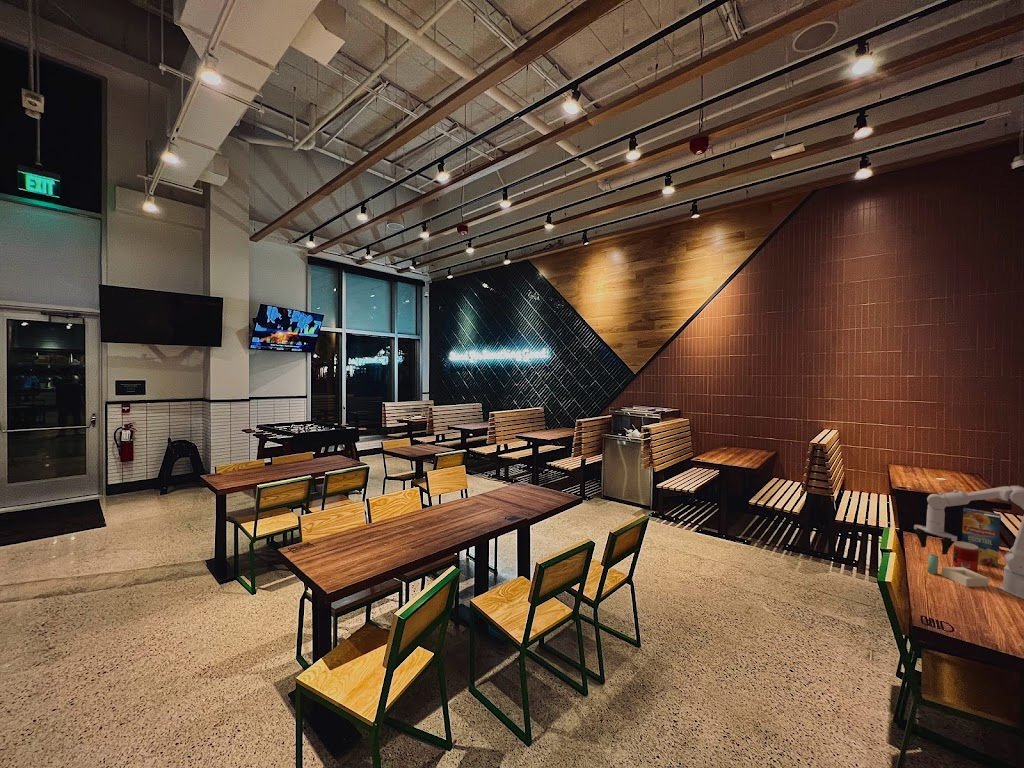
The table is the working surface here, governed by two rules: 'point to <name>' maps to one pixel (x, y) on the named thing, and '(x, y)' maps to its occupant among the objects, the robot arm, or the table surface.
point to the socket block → (964, 576)
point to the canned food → (965, 555)
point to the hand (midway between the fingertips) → (933, 550)
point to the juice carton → (982, 534)
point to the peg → (933, 564)
